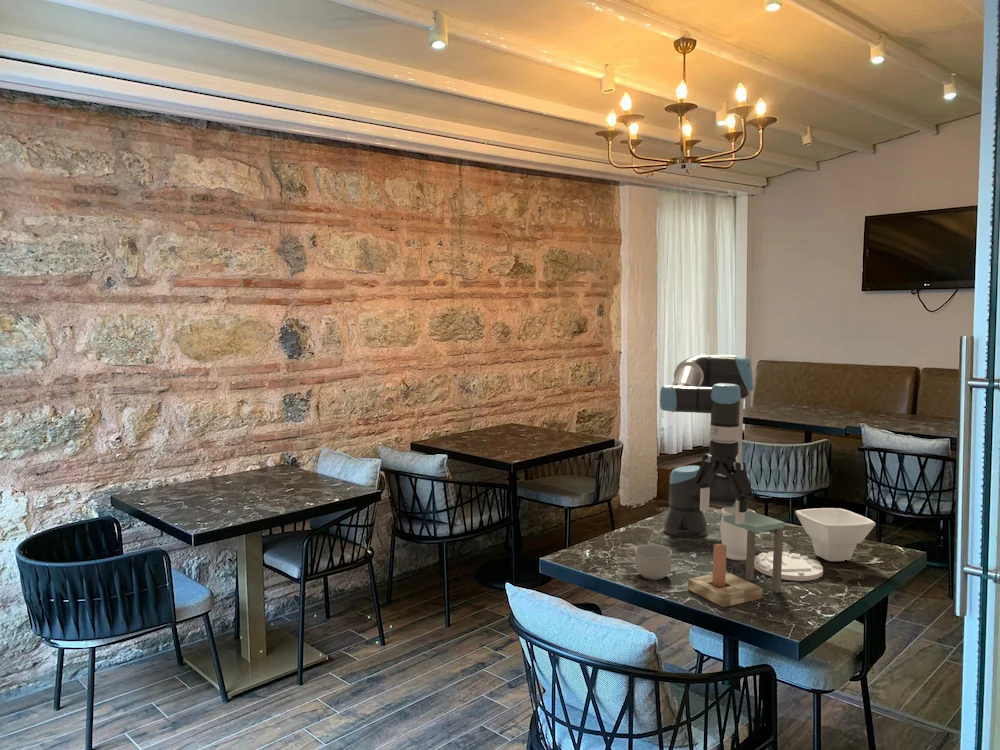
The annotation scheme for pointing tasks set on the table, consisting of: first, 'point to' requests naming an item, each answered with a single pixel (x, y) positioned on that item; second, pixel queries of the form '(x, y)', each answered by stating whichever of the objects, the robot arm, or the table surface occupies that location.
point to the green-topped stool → (753, 525)
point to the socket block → (725, 590)
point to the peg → (719, 565)
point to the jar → (733, 536)
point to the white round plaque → (790, 566)
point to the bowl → (834, 531)
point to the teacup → (651, 560)
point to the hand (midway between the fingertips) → (721, 516)
